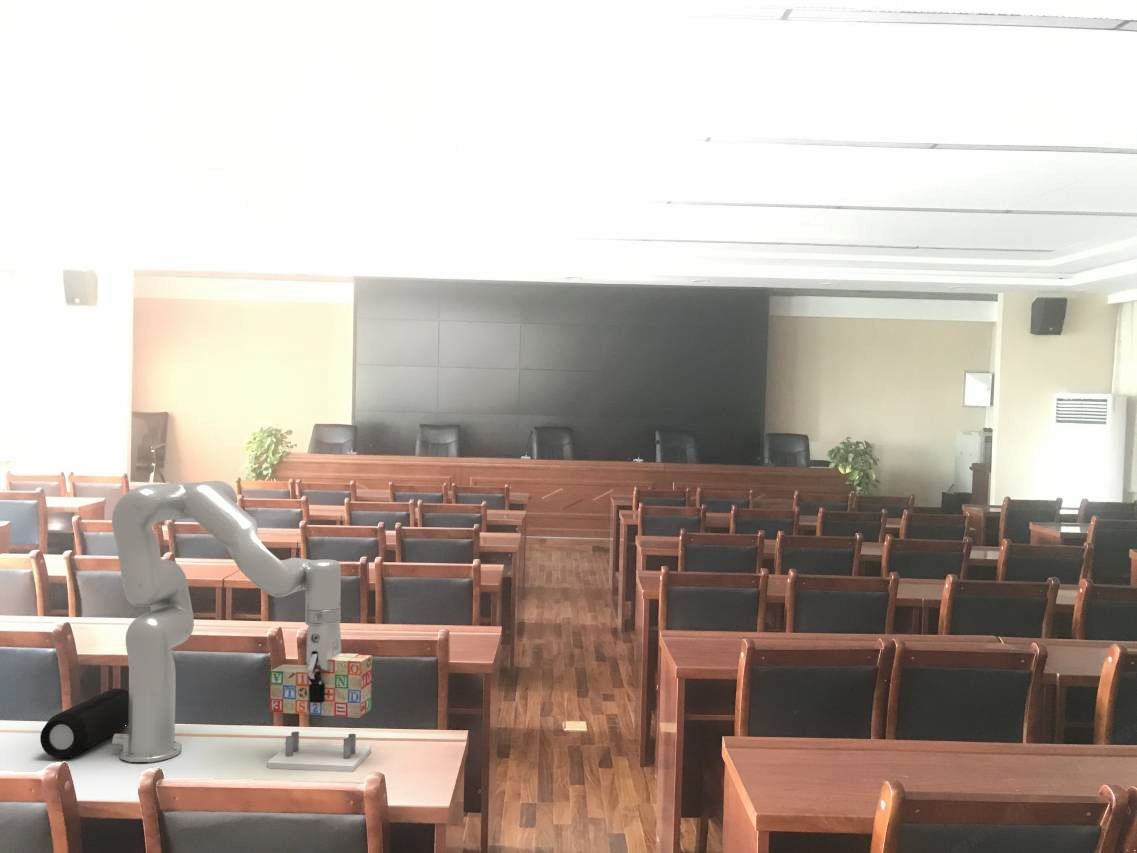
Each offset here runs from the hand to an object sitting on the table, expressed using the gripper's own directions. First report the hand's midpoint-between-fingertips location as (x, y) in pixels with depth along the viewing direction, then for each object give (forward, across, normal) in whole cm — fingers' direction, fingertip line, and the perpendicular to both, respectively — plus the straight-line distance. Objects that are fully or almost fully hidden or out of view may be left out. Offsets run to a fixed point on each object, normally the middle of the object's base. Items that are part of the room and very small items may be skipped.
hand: (322, 696), depth 203 cm
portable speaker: (+13, +5, +57) cm, 58 cm away
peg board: (+14, 0, 0) cm, 14 cm away
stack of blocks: (+3, 0, 0) cm, 3 cm away
